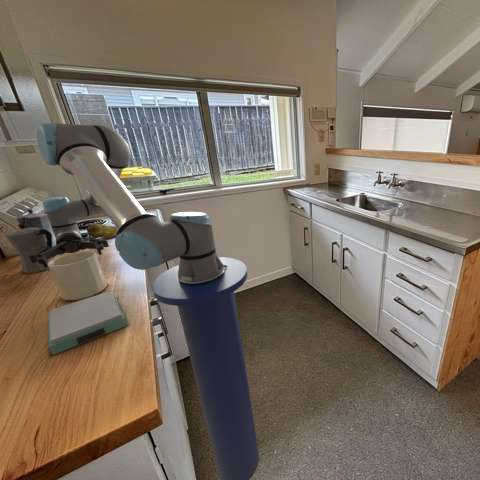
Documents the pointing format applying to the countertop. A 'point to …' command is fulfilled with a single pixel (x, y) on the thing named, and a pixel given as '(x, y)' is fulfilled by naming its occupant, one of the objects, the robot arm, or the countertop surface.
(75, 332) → the kitchen scale
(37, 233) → the coffeepot
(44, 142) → the robot arm
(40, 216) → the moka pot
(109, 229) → the potato
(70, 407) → the countertop surface
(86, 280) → the cream round pot
